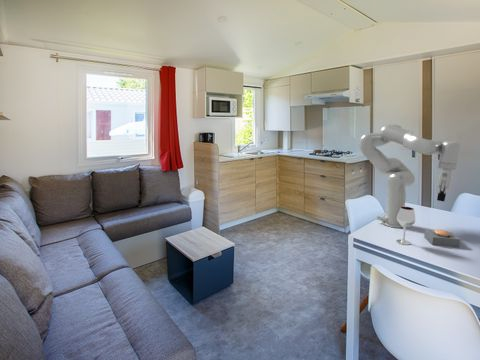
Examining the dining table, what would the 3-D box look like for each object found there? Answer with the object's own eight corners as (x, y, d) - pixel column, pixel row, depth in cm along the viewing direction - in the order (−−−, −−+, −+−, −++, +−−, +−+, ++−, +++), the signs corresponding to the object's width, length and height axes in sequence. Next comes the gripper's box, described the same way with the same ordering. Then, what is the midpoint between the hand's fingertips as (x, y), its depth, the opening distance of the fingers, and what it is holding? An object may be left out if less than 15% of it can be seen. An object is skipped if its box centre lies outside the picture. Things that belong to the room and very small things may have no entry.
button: (436, 243, 148) (437, 233, 147) (430, 238, 154) (432, 229, 153) (451, 244, 146) (453, 234, 146) (445, 239, 153) (446, 230, 152)
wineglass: (390, 239, 154) (394, 206, 150) (405, 239, 154) (409, 205, 151) (400, 245, 146) (404, 210, 142) (416, 245, 146) (420, 210, 143)
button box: (432, 244, 147) (433, 237, 146) (424, 237, 157) (425, 230, 156) (459, 247, 145) (460, 239, 144) (449, 239, 154) (450, 232, 153)
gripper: (455, 168, 142) (448, 205, 146) (457, 165, 154) (450, 199, 158) (436, 166, 147) (430, 202, 151) (439, 163, 158) (433, 196, 162)
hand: (440, 200), depth 154 cm, fingers closed
